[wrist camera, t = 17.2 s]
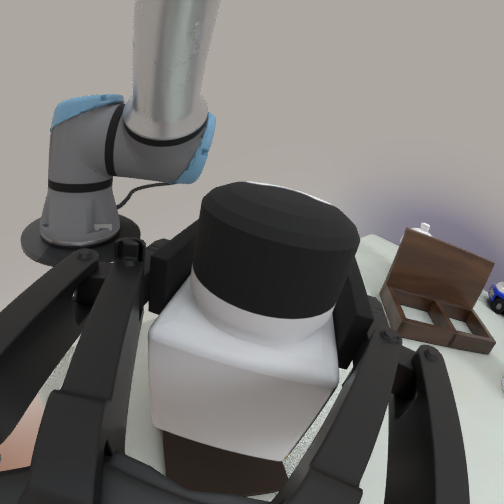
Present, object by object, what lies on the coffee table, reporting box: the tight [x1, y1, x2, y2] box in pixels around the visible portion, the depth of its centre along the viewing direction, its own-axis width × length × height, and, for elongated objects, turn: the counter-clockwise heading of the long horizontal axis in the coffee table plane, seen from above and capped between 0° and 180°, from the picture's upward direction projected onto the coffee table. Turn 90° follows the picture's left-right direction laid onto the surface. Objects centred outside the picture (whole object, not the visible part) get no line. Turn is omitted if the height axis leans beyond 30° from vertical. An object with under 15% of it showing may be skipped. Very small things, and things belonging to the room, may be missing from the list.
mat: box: [163, 430, 288, 497], centre depth 17 cm, size 10×8×1 cm
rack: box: [379, 228, 496, 354], centre depth 36 cm, size 12×20×12 cm, turn 79°
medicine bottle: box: [148, 182, 360, 461], centre depth 13 cm, size 7×7×12 cm
